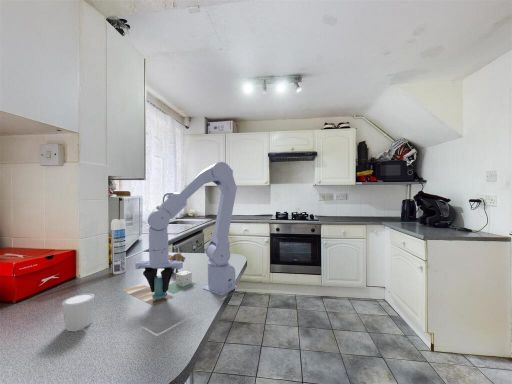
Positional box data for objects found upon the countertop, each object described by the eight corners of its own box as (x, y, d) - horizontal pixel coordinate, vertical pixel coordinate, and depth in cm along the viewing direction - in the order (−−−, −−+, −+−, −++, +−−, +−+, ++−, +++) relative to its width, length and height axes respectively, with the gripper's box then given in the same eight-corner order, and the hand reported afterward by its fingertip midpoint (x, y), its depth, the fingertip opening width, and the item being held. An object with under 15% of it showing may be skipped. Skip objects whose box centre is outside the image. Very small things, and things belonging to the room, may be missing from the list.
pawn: (170, 293, 77) (169, 275, 77) (161, 299, 73) (161, 280, 73) (158, 292, 78) (157, 274, 78) (149, 298, 74) (148, 279, 74)
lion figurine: (187, 274, 99) (186, 252, 99) (175, 277, 95) (175, 255, 95) (168, 267, 108) (168, 247, 108) (157, 270, 104) (157, 249, 104)
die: (192, 283, 88) (191, 272, 88) (182, 286, 85) (182, 275, 85) (185, 280, 91) (184, 270, 91) (175, 284, 88) (175, 273, 87)
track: (174, 298, 77) (174, 297, 77) (154, 306, 71) (154, 305, 71) (141, 284, 89) (141, 283, 89) (121, 291, 83) (121, 290, 83)
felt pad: (197, 284, 88) (197, 283, 88) (173, 294, 80) (173, 293, 80) (183, 279, 93) (183, 279, 93) (159, 288, 84) (159, 288, 84)
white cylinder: (90, 315, 67) (89, 290, 67) (99, 323, 63) (98, 297, 63) (59, 326, 62) (58, 299, 62) (66, 336, 58) (65, 307, 57)
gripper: (185, 245, 79) (186, 286, 79) (143, 245, 80) (144, 285, 80) (177, 250, 72) (178, 295, 72) (131, 251, 73) (132, 295, 73)
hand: (159, 291), depth 76 cm, fingers closed on pawn, 3 cm apart
